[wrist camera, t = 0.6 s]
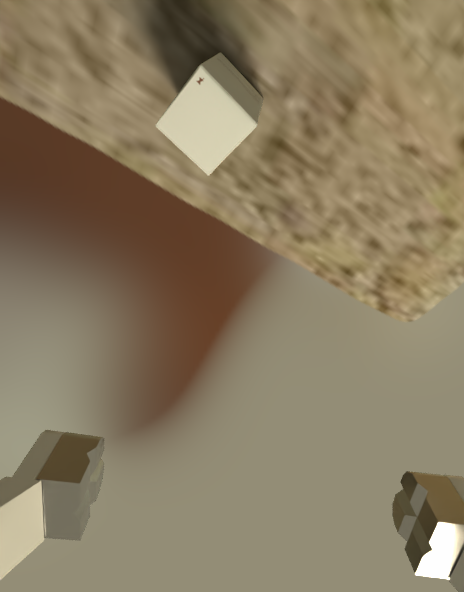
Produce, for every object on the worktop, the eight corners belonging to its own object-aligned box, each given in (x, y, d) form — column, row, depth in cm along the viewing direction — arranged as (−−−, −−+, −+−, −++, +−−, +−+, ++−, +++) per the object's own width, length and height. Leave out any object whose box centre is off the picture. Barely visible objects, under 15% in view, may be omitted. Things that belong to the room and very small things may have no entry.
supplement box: (180, 100, 49) (151, 124, 39) (221, 49, 45) (200, 61, 35) (224, 145, 51) (207, 178, 41) (266, 100, 48) (259, 124, 38)
